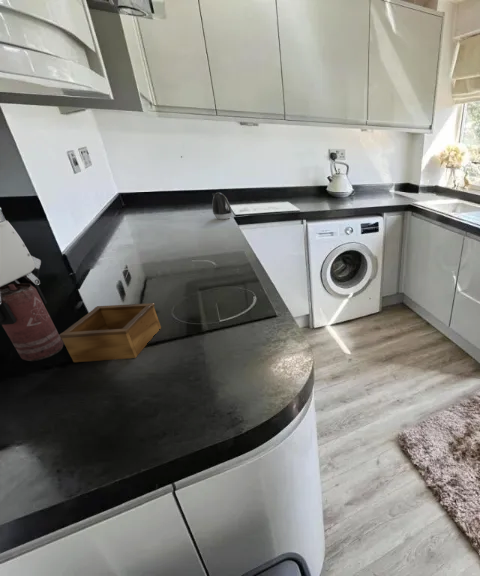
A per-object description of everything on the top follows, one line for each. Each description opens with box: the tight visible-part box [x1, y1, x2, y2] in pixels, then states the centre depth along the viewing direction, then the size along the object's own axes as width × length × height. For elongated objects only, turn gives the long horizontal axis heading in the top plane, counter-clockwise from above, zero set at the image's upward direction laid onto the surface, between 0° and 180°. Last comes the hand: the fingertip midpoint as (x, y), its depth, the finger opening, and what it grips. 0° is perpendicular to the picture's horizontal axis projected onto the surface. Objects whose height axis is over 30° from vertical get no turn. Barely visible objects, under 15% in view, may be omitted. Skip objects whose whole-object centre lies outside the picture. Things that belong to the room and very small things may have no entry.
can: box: [0, 283, 65, 362], centre depth 61 cm, size 6×6×14 cm
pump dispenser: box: [211, 192, 233, 220], centre depth 190 cm, size 10×10×15 cm
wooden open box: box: [59, 302, 162, 363], centre depth 79 cm, size 13×13×8 cm
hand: (21, 313), depth 60 cm, fingers closed on can, 6 cm apart
